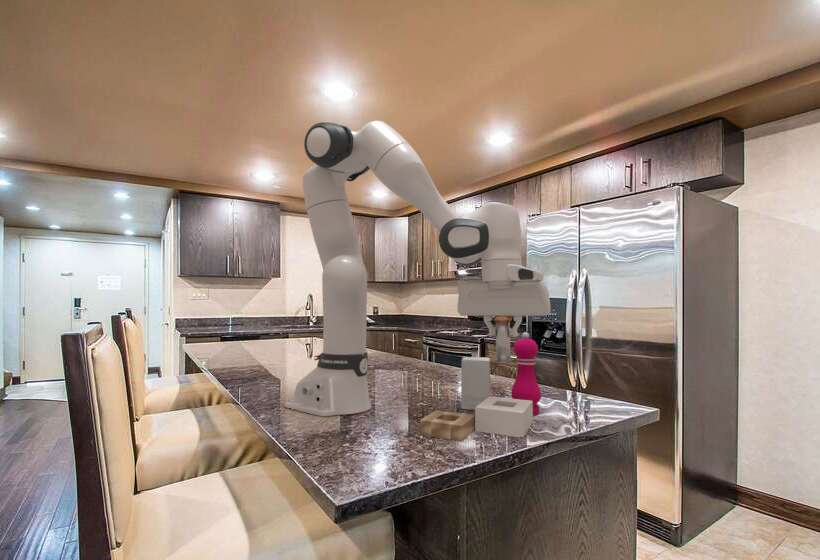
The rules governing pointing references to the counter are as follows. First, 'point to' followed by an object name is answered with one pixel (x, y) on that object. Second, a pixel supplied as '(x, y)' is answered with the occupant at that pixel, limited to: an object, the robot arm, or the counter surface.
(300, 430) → the counter surface
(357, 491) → the counter surface
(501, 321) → the pin
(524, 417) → the dock
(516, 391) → the pepper mill
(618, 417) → the counter surface
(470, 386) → the supplement box
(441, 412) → the mount
